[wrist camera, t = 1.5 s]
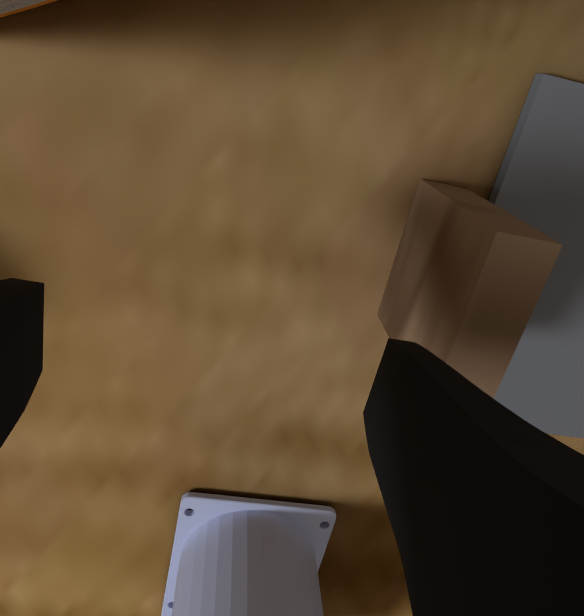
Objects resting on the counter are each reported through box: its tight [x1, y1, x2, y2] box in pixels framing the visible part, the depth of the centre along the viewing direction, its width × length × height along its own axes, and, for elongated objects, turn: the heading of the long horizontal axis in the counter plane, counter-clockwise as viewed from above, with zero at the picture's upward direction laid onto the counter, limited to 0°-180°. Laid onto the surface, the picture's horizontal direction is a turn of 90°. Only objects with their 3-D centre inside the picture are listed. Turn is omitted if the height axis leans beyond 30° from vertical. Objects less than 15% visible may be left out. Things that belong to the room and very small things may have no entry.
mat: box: [488, 73, 584, 438], centre depth 23 cm, size 15×9×1 cm, turn 168°
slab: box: [377, 179, 563, 399], centre depth 19 cm, size 6×2×7 cm, turn 168°
